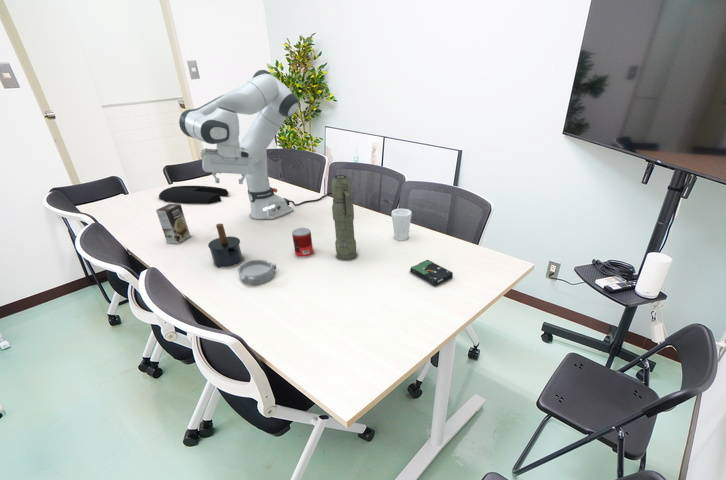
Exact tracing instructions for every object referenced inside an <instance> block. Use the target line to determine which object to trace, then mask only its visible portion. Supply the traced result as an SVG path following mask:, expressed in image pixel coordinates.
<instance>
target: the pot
mask: <svg viewBox="0 0 726 480" xmlns="http://www.w3.org/2000/svg"><path fill="white" fill-rule="evenodd" d="M209 251H210V254H211V257H212V261H213V265H214V266H215V267H216V268H219V269H220V268H228V267H229V268H230V267H234V266H236V265H238V264H240V263H241V262H242V261H243V260H244V258H243V254H242V251H241V246H240V244H239V245H237V246H236V247H234V248H231V249H227V250H212V249H210V248H209Z"/></svg>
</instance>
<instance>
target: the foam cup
mask: <svg viewBox="0 0 726 480" xmlns="http://www.w3.org/2000/svg"><path fill="white" fill-rule="evenodd" d="M390 214H391V215H390V216H391V221H392V228H393V229H392V230H393V235H394V239H395V240H397V241H406V240H408V238H409V232H410V225H411V220H412V216H413V215H412V214H413V212H412V210H410V209H408V208H394V209H393V210H392V211H391V213H390Z"/></svg>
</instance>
